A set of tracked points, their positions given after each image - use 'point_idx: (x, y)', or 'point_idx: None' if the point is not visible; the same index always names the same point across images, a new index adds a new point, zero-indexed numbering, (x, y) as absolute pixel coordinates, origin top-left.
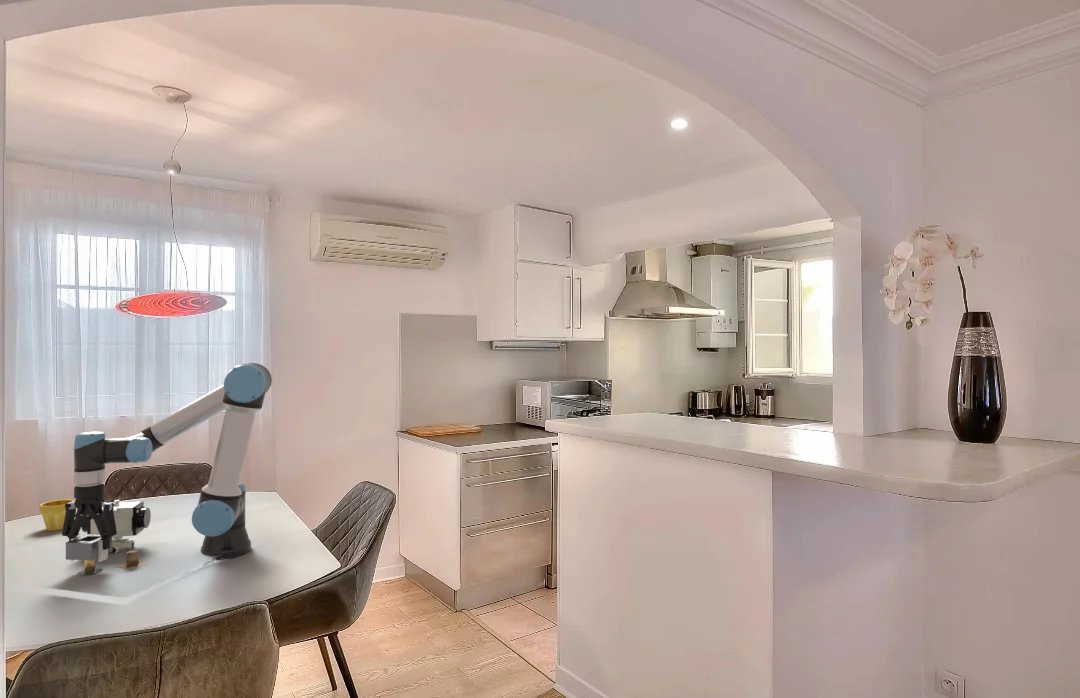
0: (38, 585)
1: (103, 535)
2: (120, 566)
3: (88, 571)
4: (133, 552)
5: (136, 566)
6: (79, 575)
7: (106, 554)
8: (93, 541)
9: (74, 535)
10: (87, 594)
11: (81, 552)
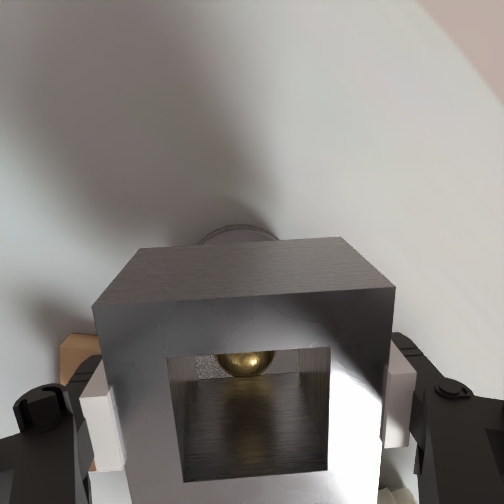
0: (404, 144)
1: (30, 442)
2: None
3: None
4: None
5: (68, 379)
6: (251, 235)
7: None
8: (130, 358)
9: (422, 425)
10: (29, 58)
11: (214, 261)
